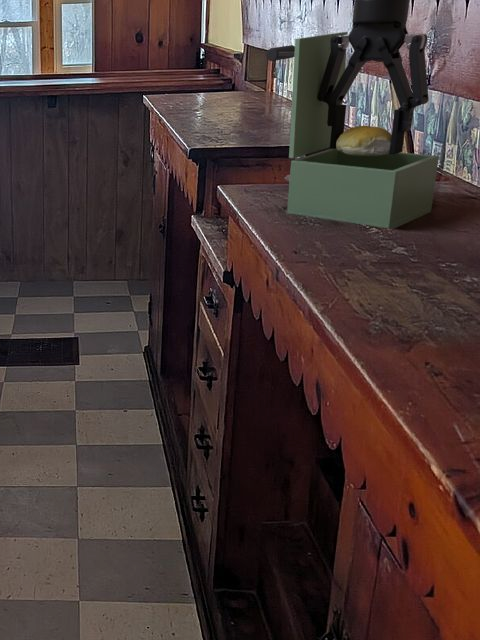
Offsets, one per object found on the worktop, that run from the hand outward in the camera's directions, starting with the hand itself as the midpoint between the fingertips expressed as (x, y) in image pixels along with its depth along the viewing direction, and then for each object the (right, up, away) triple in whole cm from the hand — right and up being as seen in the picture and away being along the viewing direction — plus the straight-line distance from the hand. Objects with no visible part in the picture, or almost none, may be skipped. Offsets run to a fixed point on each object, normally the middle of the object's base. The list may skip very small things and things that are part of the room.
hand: (365, 150), depth 135 cm
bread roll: (0, 0, 0) cm, 0 cm away
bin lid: (-6, +9, +3) cm, 12 cm away
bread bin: (+1, -9, +4) cm, 10 cm away
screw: (-3, -2, +23) cm, 23 cm away
